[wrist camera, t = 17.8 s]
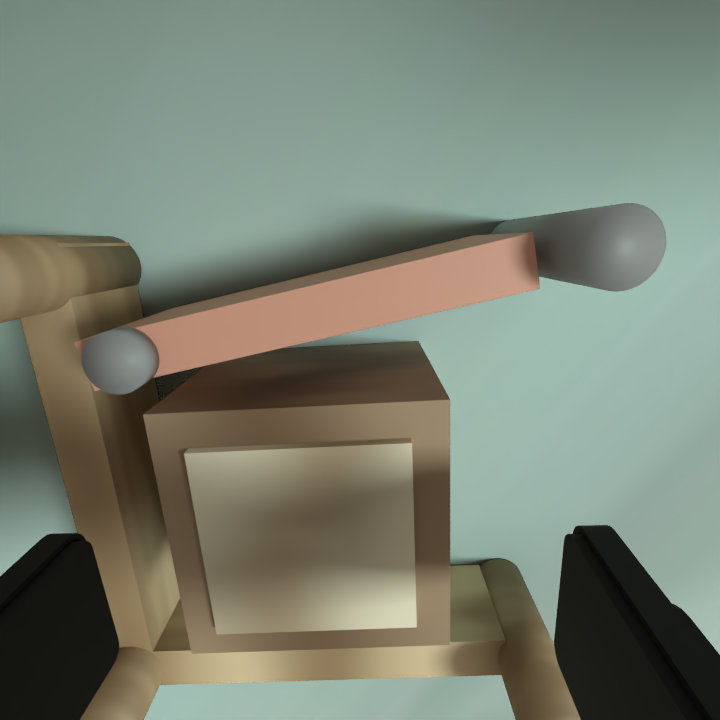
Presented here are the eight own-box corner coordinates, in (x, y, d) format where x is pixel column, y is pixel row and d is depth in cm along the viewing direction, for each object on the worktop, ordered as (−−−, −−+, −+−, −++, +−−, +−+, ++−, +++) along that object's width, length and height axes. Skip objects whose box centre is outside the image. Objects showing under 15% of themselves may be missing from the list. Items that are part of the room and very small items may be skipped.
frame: (541, 211, 14) (664, 191, 8) (519, 597, 18) (591, 763, 12) (76, 237, 14) (-116, 236, 9) (158, 610, 19) (65, 776, 13)
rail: (532, 214, 14) (664, 193, 8) (537, 263, 14) (667, 280, 8) (172, 301, 15) (35, 345, 9) (187, 345, 15) (68, 416, 9)
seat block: (418, 340, 15) (452, 403, 9) (421, 510, 17) (451, 653, 11) (224, 350, 16) (137, 418, 10) (249, 517, 17) (188, 662, 11)
